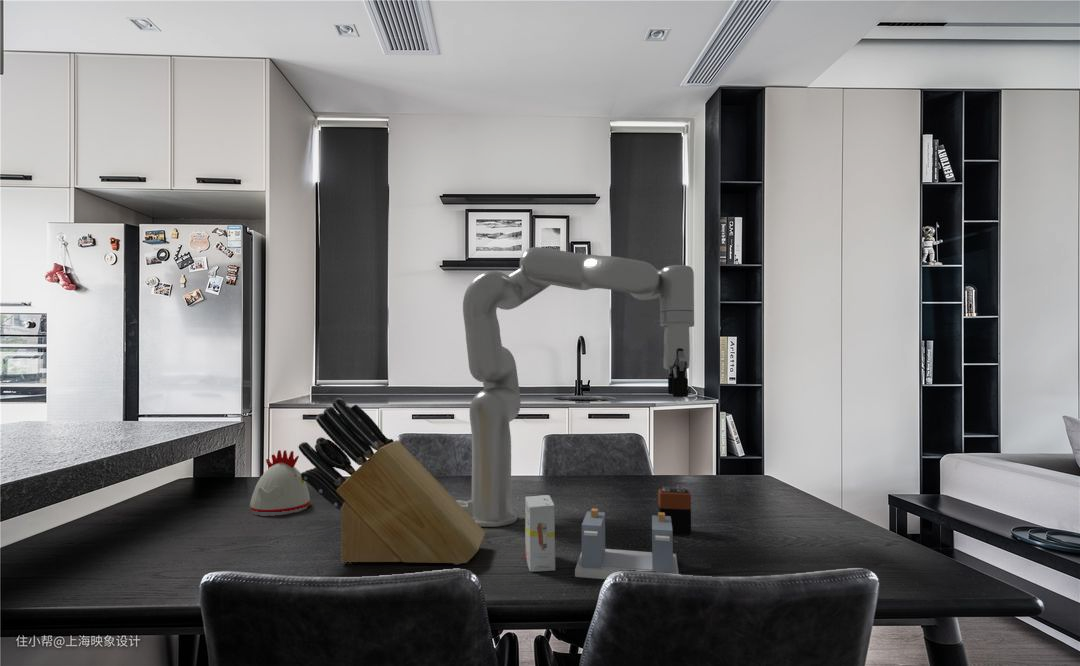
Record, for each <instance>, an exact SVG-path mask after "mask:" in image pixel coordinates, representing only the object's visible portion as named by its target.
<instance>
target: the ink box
mask: <svg viewBox="0 0 1080 666" xmlns="http://www.w3.org/2000/svg"><path fill="white" fill-rule="evenodd" d="M524 498H525V499H524V502H525V503H524V505H525V507H524V508H525V509H524V511H525V512H524V517H525V519H524V522H525V523H524V526H525V527H524V534H525V535H524V545H525V546H524V557H525V560H526V565H527V566H528V570H529V572H551V571H556V538H555V537H556V536H555V535H556V534H555V532H556V531H555V529H556V527H555V526H556V525H555V520H556V519H555V503H554V501H553V500H552V498H551V495H549V494H544V495H542V494H541V495H532V496H524Z"/></svg>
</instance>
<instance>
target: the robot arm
mask: <svg viewBox="0 0 1080 666" xmlns="http://www.w3.org/2000/svg"><path fill="white" fill-rule="evenodd" d="M694 274H695V272H694V270H693V268H692V267H691V266H689V265H685V264H673V265H667V266H664V267H663V268H661V269H657V268H656V267H655V266H654V265H652V264H651V263H649V262H646V261H644V260H638V259H631V258H626V257H620V256H612V255H596V254H585V253H577V252H572V251H571V252H570V251H565V250H560V249H554V248H547V247H542V246H539V247H538V246H533V247H529V248H527V249H526V250H525V251H523V252H522V254H521V256H520V259H519V268H518V269H516V270H515V271H513V272H512V273H510V274H509V275H508V274H506V273H504V272H502V271H498V270H488V271H485V272H483V273H481V274H480V275H478V276H477V277H475V278H474V279H473V280H472V281H471V282H470V283H469V285H468V287H467V289H466V290H465V292H464V295H463V301H462V313H463V314H462V315H463V322H464V330H465V342H466V351H467V359H468V368H469V372H470V374H471V376H472V378H473V379H474V380H476V381H478V382H480V383H482V384H483V389H482V390H480V391H479V392H477V393H476V394H475V395H474V397H473V399H472V400H471V402H470V405H469V424H470V429H471V432H470V433H471V499H468V500H460V499H456V502H457V503H458V504H459V505H460V506H461V507H462V508H463V509H464V510H465V511H466V512H467V513H468V514H469V515H470V516H471V517H472V518H473V520H474V521H475V522H476V523H477V524H478V525H479V526H480V527H481V528H483V527H485V528H486V527H487V528H493V527H496V528H497V527H503V526H507V525H510V524H514V523H515V522H516V521H517V520H518V514H517V512H515V511H514V510H513V509H512V506H511V505H512V436H511V428H510V427H511V426H510V422H512V421H513V420H515V418H517V417H518V415H519V413H520V410H521V403H522V402H521V394H520V393H521V392H520V386H519V384H520V383H519V379H518V376H519V375H518V370H517V363H516V361H515V358H514V355H513V353H512V352H511V351H510V350H509V349H508V348H506V347H505V346H503V344H502V337H501V328H500V327H501V326H500V322H499V319H498V315H497V309H500V310H503V311H504V310H508V311H509V310H513V309H516V308H518V307H519V306H521V305H523V304H524V303H526V302H527V301H529V300H531V299H532V298H534V297H535V296H537V295H538V294H540V293H541V292H543V291H545V290H546V289H547V288H549V287H550V286H556V287H562V288H568V289H573V290H579V291H588V290H591V289H592V290H593V289H603V290H611V291H617V292H622V293H626V294H630V295H631V296H632V297H633V298H634V299H636V300H639V301H647V300H655V299H659V306H660V307H659V308H660V309H659V311H660V313H659V314H660V315H659V316H660V317H659V322H660V323H659V325H660V327H661V328H664V333H663V335H664V336H663V369H664V370H668V377H667V392H668V393H667V394H668V395H672V396H673V397H674V398H688V397H689V378H688V369H689V368H690V361H691V360H690V355H691V353H690V352H691V350H690V349H691V348H690V345H691V343H690V342H691V341H690V328H691V327H695V289H694V288H695V275H694Z"/></svg>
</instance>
